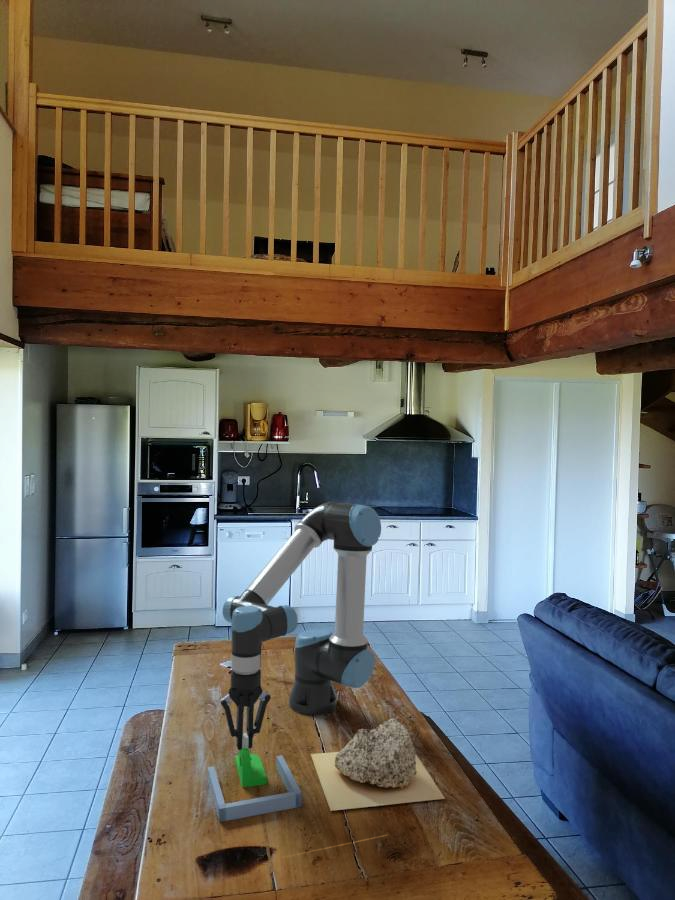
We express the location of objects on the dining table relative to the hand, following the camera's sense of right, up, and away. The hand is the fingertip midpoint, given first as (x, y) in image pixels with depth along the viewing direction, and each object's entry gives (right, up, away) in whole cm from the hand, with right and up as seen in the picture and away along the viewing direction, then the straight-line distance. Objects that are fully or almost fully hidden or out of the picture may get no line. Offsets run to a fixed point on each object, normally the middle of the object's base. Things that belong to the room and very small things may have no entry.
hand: (244, 760), depth 160 cm
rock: (+32, -8, +2) cm, 33 cm away
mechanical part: (+2, -3, -1) cm, 4 cm away
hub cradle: (+3, -3, -9) cm, 10 cm away
